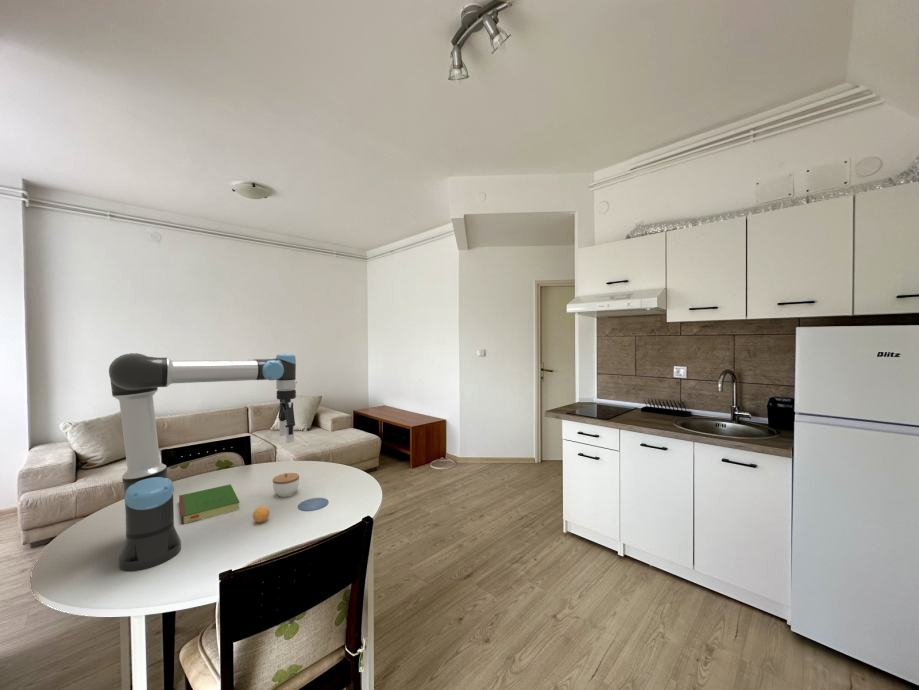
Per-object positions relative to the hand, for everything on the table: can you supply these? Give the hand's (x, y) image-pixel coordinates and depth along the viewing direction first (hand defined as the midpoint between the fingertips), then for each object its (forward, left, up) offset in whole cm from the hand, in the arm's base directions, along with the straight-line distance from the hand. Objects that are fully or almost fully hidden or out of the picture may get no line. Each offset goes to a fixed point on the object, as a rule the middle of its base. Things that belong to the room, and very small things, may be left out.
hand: (286, 438), depth 157 cm
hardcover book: (-25, +17, -27) cm, 41 cm away
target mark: (+6, -13, -26) cm, 30 cm away
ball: (-14, -13, -24) cm, 30 cm away
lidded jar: (+2, +6, -27) cm, 27 cm away
